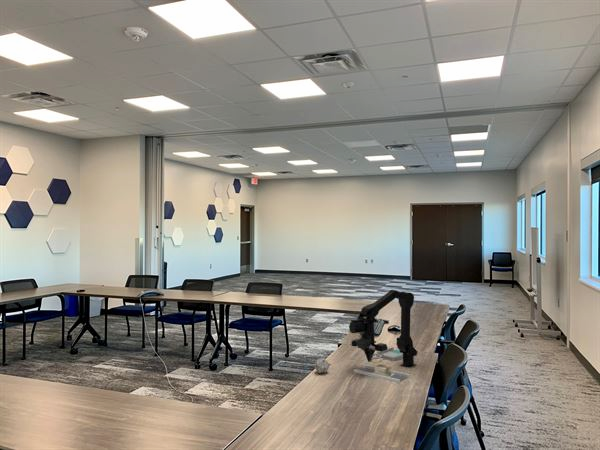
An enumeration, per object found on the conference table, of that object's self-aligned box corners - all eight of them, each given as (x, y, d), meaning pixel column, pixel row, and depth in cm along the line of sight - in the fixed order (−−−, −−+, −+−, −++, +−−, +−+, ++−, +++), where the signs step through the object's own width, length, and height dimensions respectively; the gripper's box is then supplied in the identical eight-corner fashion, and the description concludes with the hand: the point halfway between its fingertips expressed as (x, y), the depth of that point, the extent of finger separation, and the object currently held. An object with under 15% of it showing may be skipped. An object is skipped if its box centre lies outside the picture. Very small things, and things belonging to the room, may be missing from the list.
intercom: (365, 353, 243) (389, 345, 261) (365, 361, 243) (390, 352, 261) (385, 358, 234) (409, 349, 252) (385, 366, 234) (409, 356, 252)
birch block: (381, 372, 221) (380, 363, 221) (391, 375, 217) (391, 366, 217) (374, 375, 217) (374, 366, 217) (384, 378, 213) (384, 368, 213)
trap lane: (365, 367, 231) (365, 364, 231) (410, 377, 214) (410, 374, 214) (353, 372, 223) (353, 369, 223) (399, 383, 206) (399, 380, 206)
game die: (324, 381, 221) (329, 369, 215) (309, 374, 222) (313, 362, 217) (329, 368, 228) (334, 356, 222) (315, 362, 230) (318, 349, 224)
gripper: (344, 331, 224) (345, 361, 223) (376, 336, 211) (376, 368, 211) (357, 328, 232) (357, 357, 231) (387, 332, 219) (388, 363, 219)
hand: (369, 361), depth 223 cm, fingers closed
